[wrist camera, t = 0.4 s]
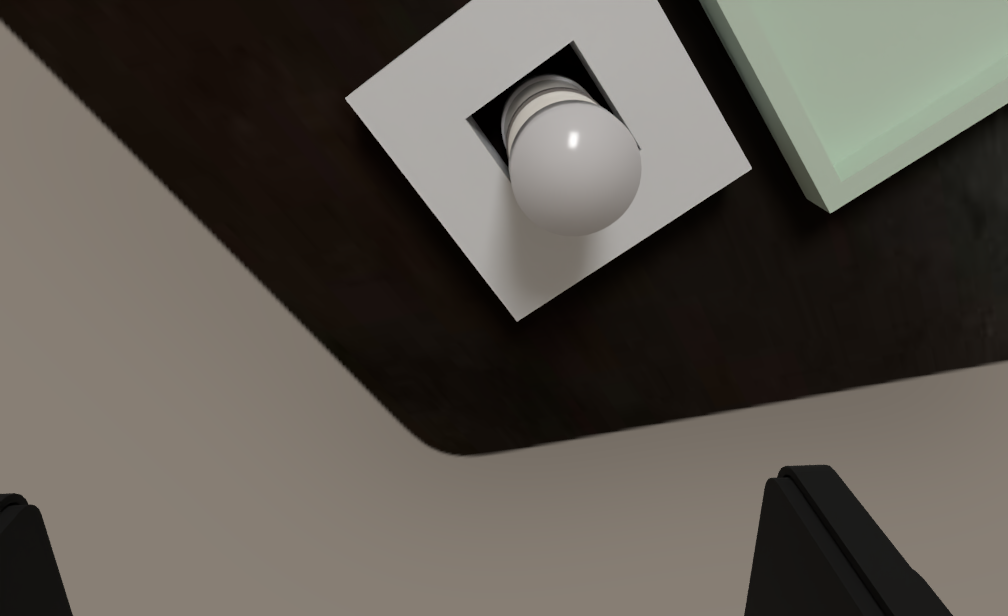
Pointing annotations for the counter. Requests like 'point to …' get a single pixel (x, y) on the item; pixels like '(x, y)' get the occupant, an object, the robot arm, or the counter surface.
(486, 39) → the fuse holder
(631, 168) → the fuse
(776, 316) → the counter surface
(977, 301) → the counter surface
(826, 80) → the parts tray
